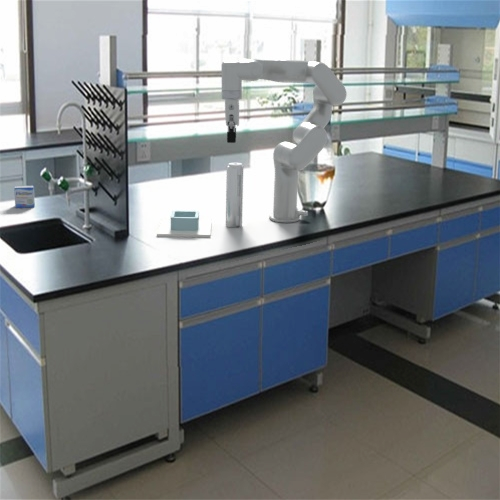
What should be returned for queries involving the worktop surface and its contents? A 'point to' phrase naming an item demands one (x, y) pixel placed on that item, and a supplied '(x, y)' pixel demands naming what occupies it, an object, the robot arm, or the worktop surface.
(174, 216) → the holder
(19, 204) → the medicine box
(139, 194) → the worktop surface
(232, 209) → the white cylinder
